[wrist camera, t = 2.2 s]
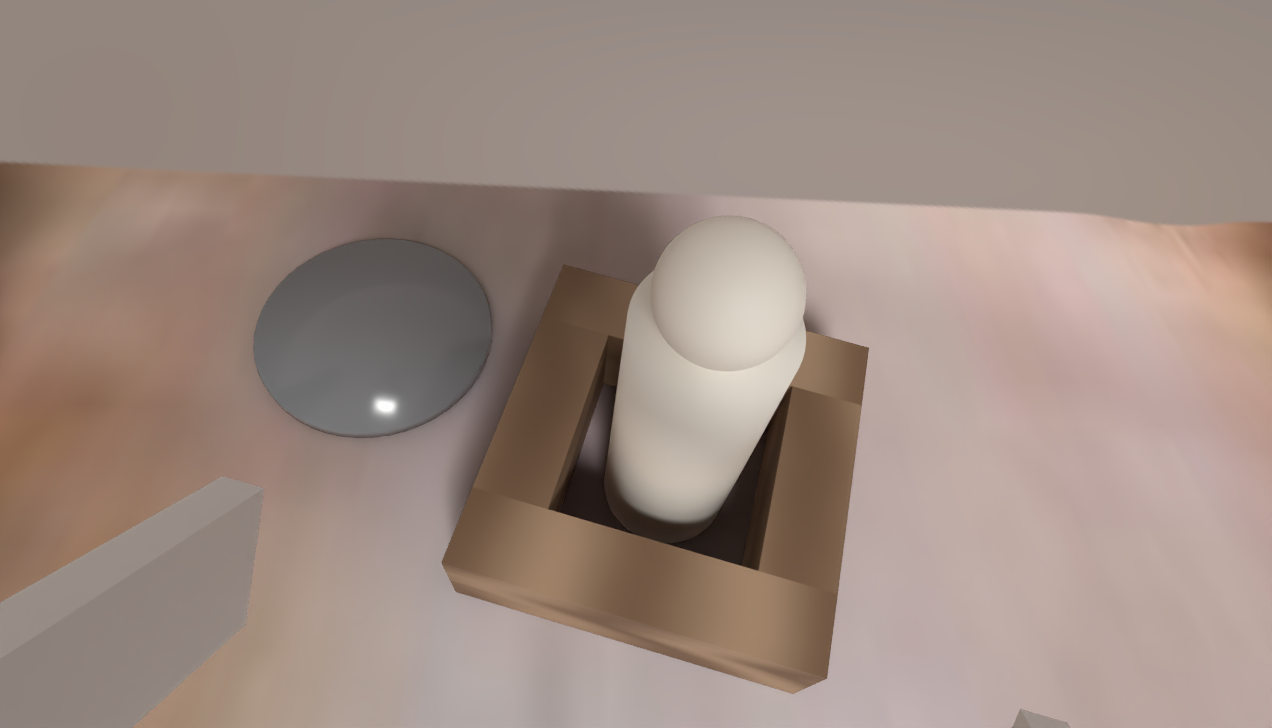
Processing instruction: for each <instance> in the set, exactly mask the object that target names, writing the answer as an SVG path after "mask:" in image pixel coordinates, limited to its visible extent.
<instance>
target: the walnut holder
mask: <svg viewBox="0 0 1272 728" xmlns="http://www.w3.org/2000/svg"><path fill="white" fill-rule="evenodd" d="M638 286H639V285H637V284H633V283H629V282H626V281H622V280H618V279H615V278H611V277H607V276H604V275H600V274H596V273H593V272H589V271H585V270H582V269H578V268H574V267H571V266H567V265H563V267H562V270H561V272H560V275H559V277H558V280H557V282H556V284H555V287H554V289H553V292H552V294H551V297H550V299H549V301H548V304H547V306H546V309H545V311H544V314H543V316H542V319H541V321H540V323H539V326H538V328H537V331H536V333H535V336H534V338H533V341H532V343H531V345H530V348H529V350H528V353H527V355H526V358H525V360H524V362H523V365H522V367H521V370H520V372H519V375H518V377H517V380H516V382H515V384H514V387H513V389H512V392H511V394H510V397H509V399H508V402H507V404H506V406H505V409H504V411H503V414H502V416H501V419H500V421H499V423H498V426H497V428H496V431H495V433H494V436H493V438H492V441H491V443H490V445H489V448H488V450H487V453H486V455H485V458H484V460H483V463H482V465H481V467H480V470H479V472H478V475H477V477H476V480H475V482H474V484H473V487H472V489H471V492H470V494H469V497H468V499H467V502H466V504H465V506H464V509H463V511H462V514H461V516H460V519H459V521H458V524H457V526H456V528H455V531H454V533H453V536H452V538H451V541H450V543H449V545H448V548H447V550H446V553H445V555H444V558H443V560H442V565H443V567H444V569H445V571H446V573H447V575H448V577H449V579H450V581H451V583H452V585H453V587H454V589H455V591H456V592H458V593H462V594H465V595H468V596H472V597H475V598H478V599H482V600H485V601H488V602H491V603H495V604H498V605H501V606H505V607H508V608H511V609H515V610H518V611H521V612H525V613H528V614H531V615H534V616H538V617H541V618H544V619H548V620H551V621H554V622H558V623H561V624H564V625H568V626H571V627H574V628H577V629H581V630H584V631H587V632H591V633H594V634H597V635H601V636H604V637H607V638H610V639H614V640H617V641H620V642H624V643H627V644H630V645H634V646H637V647H640V648H644V649H647V650H650V651H653V652H657V653H660V654H663V655H667V656H670V657H673V658H677V659H680V660H683V661H687V662H690V663H693V664H696V665H700V666H703V667H706V668H710V669H713V670H716V671H720V672H723V673H726V674H730V675H733V676H736V677H739V678H743V679H746V680H749V681H753V682H756V683H759V684H763V685H766V686H769V687H772V688H776V689H779V690H782V691H786V692H789V693H792V694H794V693H796V692H798V691H800V690H803V689H805V688H807V687H809V686H811V685H814V684H816V683H818V682H820V681H822V680H825V679H827V674H828V666H829V658H830V650H831V642H832V634H833V626H834V619H835V611H836V603H837V595H838V587H839V579H840V571H841V563H842V556H843V548H844V540H845V532H846V524H847V516H848V508H849V501H850V493H851V485H852V477H853V469H854V461H855V453H856V446H857V438H858V430H859V422H860V414H861V406H862V398H863V390H864V383H865V375H866V367H867V359H868V351H869V348H867V347H864V346H860V345H856V344H853V343H849V342H845V341H842V340H838V339H834V338H831V337H827V336H823V335H820V334H816V333H813V332H809V331H806V347H805V353H804V357H803V360H802V362H801V365H800V367H799V369H798V371H797V373H796V374H795V376H794V378H793V380H792V382H791V383H790V385H789V387H788V389H787V391H786V392H785V394H784V396H783V398H782V400H781V401H780V403H779V405H778V407H777V409H776V410H775V412H774V414H773V416H772V418H771V419H770V421H769V423H768V425H767V427H766V428H765V429H767V430H768V433H767V438H766V443H765V448H764V453H763V458H762V463H761V468H760V473H759V478H758V483H757V489H756V494H755V499H754V504H753V509H752V514H751V519H750V524H749V529H748V534H747V539H746V544H745V549H744V554H743V559H742V564H741V566H740V565H736V564H733V563H729V562H726V561H723V560H719V559H716V558H712V557H709V556H706V555H702V554H699V553H695V552H692V551H689V550H685V549H682V548H678V547H675V546H672V545H668V544H665V543H661V542H658V541H655V540H651V539H648V538H644V537H641V536H637V535H634V534H631V533H627V532H624V531H620V530H617V529H614V528H610V527H607V526H603V525H600V524H597V523H593V522H590V521H586V520H583V519H580V518H576V517H573V516H569V515H566V514H563V513H560V510H561V507H562V504H563V501H564V498H565V495H566V492H567V489H568V487H569V484H570V481H571V478H572V475H573V472H574V469H575V466H576V463H577V460H578V457H579V454H580V451H581V448H582V445H583V442H584V439H585V436H586V433H587V430H588V427H589V424H590V421H591V419H592V416H593V413H594V410H595V407H596V404H597V401H598V398H599V395H600V392H601V389H602V386H603V383H604V384H607V385H611V386H614V387H617V385H618V377H619V370H620V363H621V356H622V349H623V342H624V334H625V327H626V320H627V313H628V308H629V304H630V301H631V299H632V296H633V294H634V292H635V291H636V289H637V287H638Z"/></svg>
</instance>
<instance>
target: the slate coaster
mask: <svg viewBox="0 0 1272 728" xmlns="http://www.w3.org/2000/svg"><path fill="white" fill-rule="evenodd" d="M491 339H492V325H491V317H490V310H489V306H488V303H487V299H486V296H485V294H484V292H483V290H482V288H481V286H480V285H479V283H478V282H477V280H476V279H475V277H474V276H473V275H472V274H471V273H470V272H469V271H468V269H467V268H466V267H464V266H463V265H462V264H461V263H460V262H458V261H457V260H456V259H454V258H453V257H451V256H449V255H448V254H446V253H444V252H442V251H440V250H438V249H436V248H433V247H430V246H427V245H425V244H422V243H417V242H412V241H408V240H398V239H373V240H364V241H359V242H353V243H349V244H346V245H342V246H339V247H336V248H333V249H331V250H328V251H326V252H323V253H321V254H319V255H317V256H316V257H314V258H312V259H310V260H308V261H307V262H305V263H304V264H302V265H301V266H299V267H298V268H297V269H295V270H294V271H293V272H292V273H291V274H289V275H288V276H287V277H286V278H285V279H284V280H283V281H282V282H281V283H280V284H279V285H278V286H277V288H276V289H275V290H274V292H273V293H272V294H271V296H270V297H269V298H268V300H267V302H266V304H265V305H264V307H263V309H262V311H261V314H260V316H259V319H258V321H257V325H256V330H255V334H254V357H255V363H256V366H257V370H258V373H259V375H260V377H261V379H262V382H263V384H264V385H265V387H266V388H267V390H268V391H269V392H270V394H271V395H272V397H273V398H274V399H275V401H276V402H277V403H278V404H279V405H280V406H281V407H282V408H283V409H284V410H285V411H286V412H287V413H288V414H289V415H291V416H292V417H293V418H295V419H296V420H298V421H299V422H301V423H303V424H305V425H307V426H309V427H311V428H313V429H316V430H319V431H322V432H324V433H328V434H333V435H337V436H343V437H353V438H373V437H380V436H388V435H392V434H396V433H400V432H404V431H407V430H410V429H413V428H415V427H418V426H421V425H423V424H425V423H427V422H429V421H431V420H433V419H435V418H436V417H438V416H439V415H441V414H442V413H444V412H445V411H447V410H448V409H450V408H451V407H452V406H453V405H454V404H456V403H457V402H458V401H459V400H460V399H461V398H462V397H463V396H464V395H465V394H466V393H467V392H468V391H469V390H470V388H471V387H472V385H473V384H474V383H475V381H476V380H477V378H478V377H479V375H480V373H481V371H482V369H483V367H484V366H485V363H486V360H487V357H488V354H489V350H490V345H491Z"/></svg>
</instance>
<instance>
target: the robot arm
mask: <svg viewBox="0 0 1272 728" xmlns="http://www.w3.org/2000/svg"><path fill="white" fill-rule="evenodd" d="M263 493H264V488H262V487H258V486H255V485H251V484H248V483H245V482H241V481H238V480H234V479H231V478H227V477H224V476H222V477H220V478H218V479H217V480H215V481H213V482H211V483H210V484H208V485H206V486H204V487H202V488H201V489H199V490H197V491H195V492H194V493H192V494H190V495H188V496H187V497H185V498H183V499H181V500H180V501H178V502H176V503H174V504H173V505H171V506H169V507H167V508H166V509H164V510H162V511H160V512H159V513H157V514H155V515H153V516H152V517H150V518H148V519H146V520H144V521H143V522H141V523H139V524H137V525H136V526H134V527H132V528H130V529H129V530H127V531H125V532H123V533H122V534H120V535H118V536H116V537H115V538H113V539H111V540H109V541H108V542H106V543H104V544H102V545H101V546H99V547H97V548H95V549H94V550H92V551H90V552H88V553H86V554H85V555H83V556H81V557H79V558H78V559H76V560H74V561H72V562H71V563H69V564H67V565H65V566H64V567H62V568H60V569H58V570H57V571H55V572H53V573H51V574H50V575H48V576H46V577H44V578H43V579H41V580H39V581H37V582H36V583H34V584H32V585H30V586H28V587H27V588H25V589H23V590H21V591H20V592H18V593H16V594H14V595H13V596H11V597H9V598H7V599H6V600H4V601H2V602H0V728H132V727H134V726H135V725H136V724H137V723H138V722H139V721H140V720H141V719H142V718H143V717H145V716H146V715H147V714H148V713H149V712H150V711H151V710H152V709H153V708H155V707H156V706H157V705H158V704H159V703H160V702H161V701H162V700H163V699H164V698H166V697H167V696H168V695H169V694H170V693H171V692H172V691H173V690H174V689H175V688H177V687H178V686H179V685H180V684H181V683H182V682H183V681H184V680H185V679H187V678H188V677H189V676H190V675H191V674H192V673H193V672H194V671H195V670H196V669H198V668H199V667H200V666H201V665H202V664H203V663H204V662H205V661H206V660H207V659H209V658H210V657H211V656H212V655H213V654H214V653H215V652H216V651H217V650H218V649H220V648H221V647H222V646H223V645H224V644H225V643H226V642H227V641H228V640H230V639H231V638H232V637H233V636H234V635H235V634H236V633H237V632H238V631H239V630H241V629H242V628H243V627H244V626H245V625H246V619H247V612H248V604H249V597H250V589H251V582H252V575H253V567H254V560H255V552H256V545H257V538H258V530H259V523H260V515H261V508H262V500H263ZM1012 728H1070V726H1069V725H1068V723H1066V722H1063V721H1059V720H1056V719H1053V718H1049V717H1046V716H1042V715H1039V714H1036V713H1032V712H1029V711H1025V710H1022V709H1020V711H1019V713H1018V716H1017V718H1016V720H1015V722H1014V725H1013V727H1012Z"/></svg>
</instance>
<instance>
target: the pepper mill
mask: <svg viewBox="0 0 1272 728" xmlns="http://www.w3.org/2000/svg"><path fill="white" fill-rule="evenodd" d="M806 297H807V291H806V279H805V275H804V271H803V268H802V265H801V263H800V260H799V258H798V256H797V254H796V253H795V251H794V250H793V248H792V247H791V246H790V244H789V243H788V242H787V241H786V240H785V239H784V237H782V236H781V235H780V234H779V233H778V232H776V231H775V230H773V229H772V228H771V227H769V226H767V225H765V224H764V223H761V222H759V221H757V220H754V219H750V218H746V217H741V216H718V217H713V218H709V219H705V220H702V221H700V222H697V223H695V224H693V225H691V226H690V227H688V228H686V229H685V230H684V231H682V232H681V233H680V234H678V235H677V236H676V237H675V238H674V239H673V240H672V241H671V242H670V244H669V245H668V246H667V247H666V248H665V250H664V251H663V253H662V254H661V256H660V258H659V260H658V262H657V264H656V267H655V270H654V271H652V272H651V273H650V274H649V275H648V276H647V277H645V279H644V280H643V281H642V282H641V283H640V284H639V286H638V287H637V289H636V291H635V292H634V294H633V296H632V299H631V301H630V304H629V308H628V313H627V320H626V327H625V334H624V342H623V349H622V356H621V363H620V370H619V377H618V385H617V392H616V399H615V406H614V413H613V420H612V428H611V435H610V442H609V449H608V456H607V463H606V470H605V479H604V487H605V494H606V498H607V501H608V504H609V506H610V508H611V510H612V512H613V514H614V515H615V517H616V518H617V519H618V520H619V522H620V523H621V524H622V525H623V526H624V527H626V528H627V529H628V530H629V531H631V532H632V533H634V534H636V535H637V536H641V537H644V538H648V539H651V540H655V541H658V542H661V543H675V542H681V541H685V540H688V539H690V538H693V537H695V536H697V535H698V534H700V533H701V532H703V531H704V530H705V529H706V528H708V527H709V526H710V524H711V523H712V522H713V521H714V519H715V518H716V516H717V515H718V513H719V511H720V509H721V508H722V506H723V504H724V502H725V500H726V499H727V497H728V495H729V493H730V491H731V490H732V488H733V486H734V484H735V482H736V481H737V479H738V477H739V475H740V473H741V472H742V470H743V468H744V466H745V464H746V463H747V461H748V459H749V457H750V455H751V454H752V452H753V450H754V448H755V446H756V445H757V443H758V441H759V439H760V437H761V436H762V434H763V432H764V430H765V428H766V427H767V425H768V423H769V421H770V419H771V418H772V416H773V414H774V412H775V410H776V409H777V407H778V405H779V403H780V401H781V400H782V398H783V396H784V394H785V392H786V391H787V389H788V387H789V385H790V383H791V382H792V380H793V378H794V376H795V374H796V373H797V371H798V369H799V367H800V365H801V362H802V360H803V357H804V353H805V347H806V330H805V325H804V320H803V314H804V311H805V305H806Z"/></svg>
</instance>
